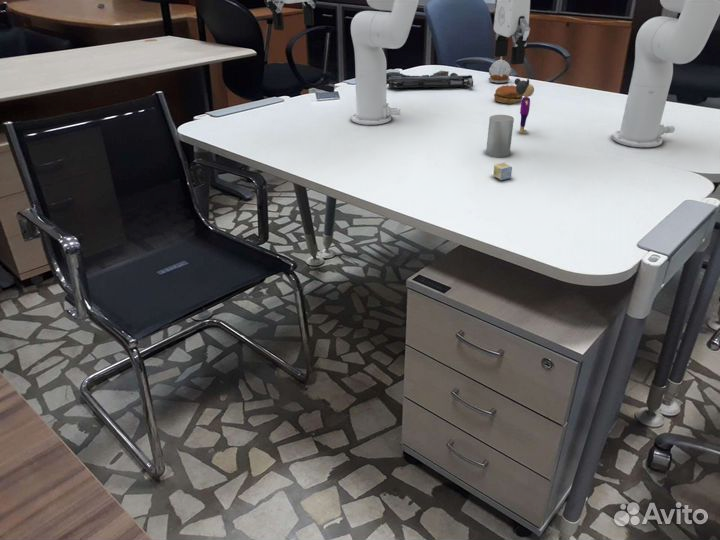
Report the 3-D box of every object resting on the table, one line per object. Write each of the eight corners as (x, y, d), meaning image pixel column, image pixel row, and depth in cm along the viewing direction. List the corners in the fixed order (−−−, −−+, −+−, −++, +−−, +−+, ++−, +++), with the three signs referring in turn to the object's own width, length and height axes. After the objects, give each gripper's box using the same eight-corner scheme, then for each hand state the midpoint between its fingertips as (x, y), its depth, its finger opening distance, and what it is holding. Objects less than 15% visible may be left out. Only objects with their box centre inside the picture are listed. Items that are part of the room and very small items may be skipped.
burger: (499, 104, 192) (501, 90, 189) (490, 98, 200) (491, 84, 197) (527, 103, 193) (529, 89, 190) (517, 96, 201) (518, 82, 198)
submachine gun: (465, 67, 229) (475, 77, 207) (464, 78, 231) (474, 89, 209) (384, 68, 229) (385, 79, 207) (384, 79, 231) (385, 91, 209)
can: (512, 151, 153) (516, 116, 148) (506, 158, 148) (510, 122, 144) (489, 148, 156) (492, 113, 151) (483, 155, 151) (486, 119, 146)
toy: (529, 138, 161) (536, 84, 154) (509, 137, 162) (515, 83, 155) (527, 127, 170) (534, 75, 162) (508, 126, 171) (514, 75, 163)
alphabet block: (500, 180, 135) (501, 168, 134) (492, 176, 138) (494, 164, 136) (511, 178, 136) (512, 166, 135) (503, 174, 139) (504, 162, 137)
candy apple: (512, 80, 221) (516, 39, 213) (505, 84, 216) (509, 42, 208) (493, 78, 225) (496, 38, 217) (485, 82, 219) (489, 41, 211)
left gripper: (268, -49, 127) (276, 33, 136) (326, -52, 137) (329, 24, 146) (249, -49, 132) (257, 30, 141) (306, -52, 142) (310, 22, 151)
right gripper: (486, -20, 138) (481, 54, 147) (516, -14, 123) (508, 68, 132) (515, -22, 139) (508, 52, 148) (548, -16, 124) (538, 66, 133)
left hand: (294, 27), depth 143 cm, fingers open, 9 cm apart
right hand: (508, 60), depth 140 cm, fingers open, 9 cm apart
